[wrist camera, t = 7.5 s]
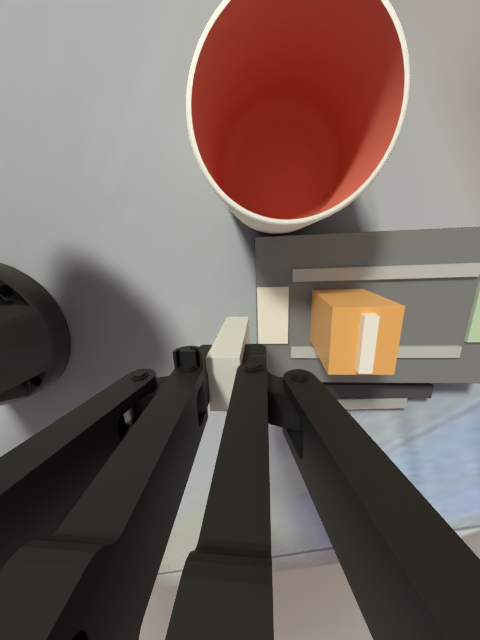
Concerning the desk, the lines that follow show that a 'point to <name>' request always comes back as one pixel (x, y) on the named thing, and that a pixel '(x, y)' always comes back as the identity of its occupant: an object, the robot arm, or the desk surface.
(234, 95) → the cup
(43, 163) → the desk surface
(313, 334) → the breaker toggle
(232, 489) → the robot arm
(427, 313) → the box
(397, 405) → the cord grey
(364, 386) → the black bar
